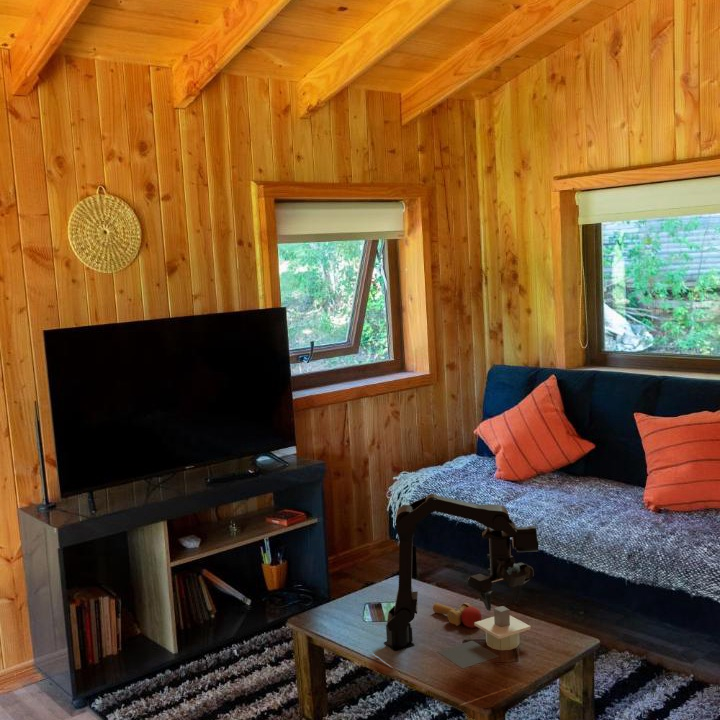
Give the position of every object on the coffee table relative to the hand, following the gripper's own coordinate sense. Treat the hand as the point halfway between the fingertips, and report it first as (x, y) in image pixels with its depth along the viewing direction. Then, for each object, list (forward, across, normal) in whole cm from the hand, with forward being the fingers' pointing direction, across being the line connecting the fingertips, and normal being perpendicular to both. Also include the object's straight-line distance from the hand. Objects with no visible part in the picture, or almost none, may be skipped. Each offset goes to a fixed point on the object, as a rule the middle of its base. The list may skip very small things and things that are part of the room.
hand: (502, 606), depth 250 cm
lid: (+6, 0, 0) cm, 6 cm away
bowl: (+11, 0, 0) cm, 11 cm away
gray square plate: (+11, -12, 0) cm, 16 cm away
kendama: (+11, -2, +20) cm, 23 cm away
